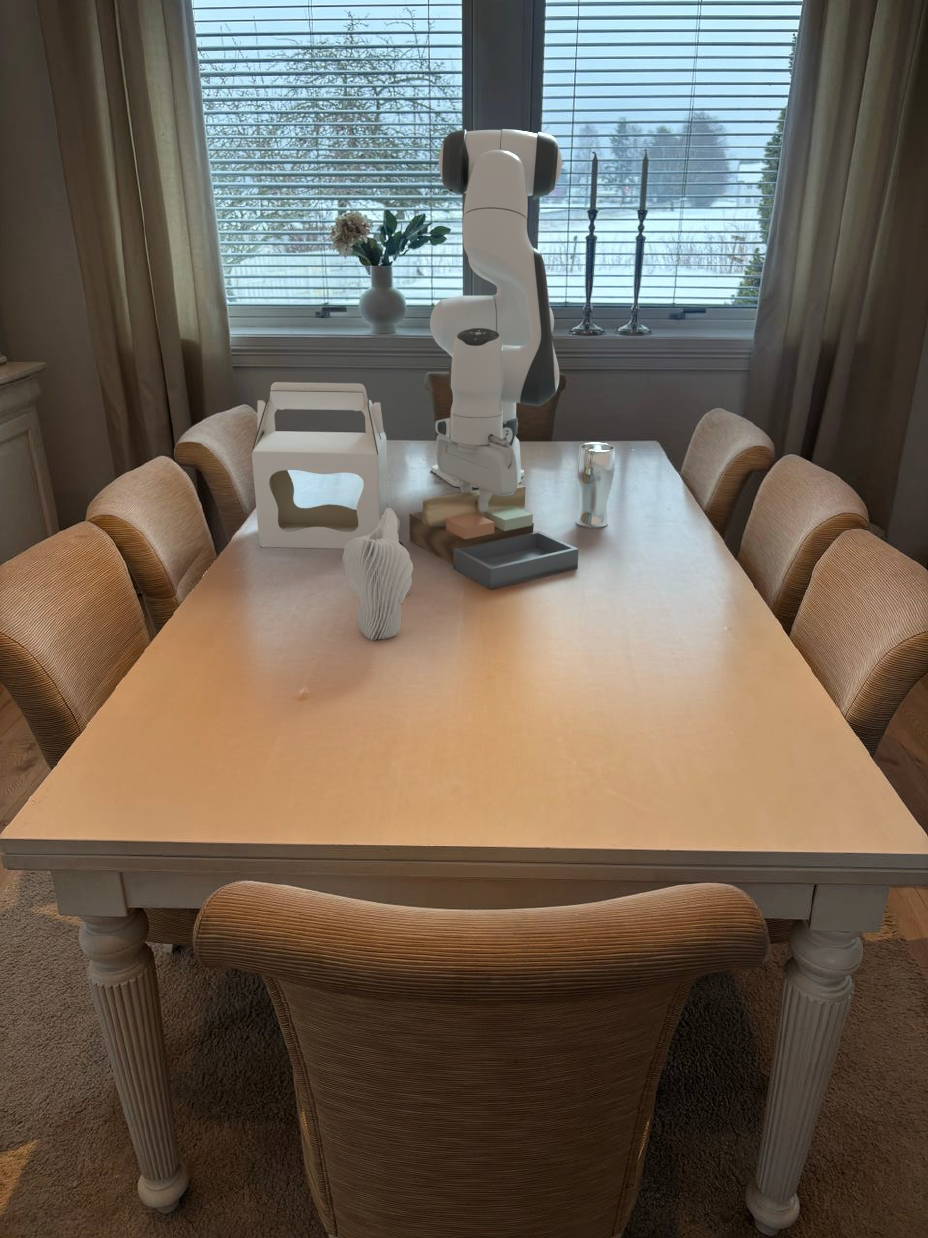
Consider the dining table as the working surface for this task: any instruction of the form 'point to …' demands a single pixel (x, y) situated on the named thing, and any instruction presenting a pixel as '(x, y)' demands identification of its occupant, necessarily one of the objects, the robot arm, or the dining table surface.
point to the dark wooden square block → (451, 537)
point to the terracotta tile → (469, 526)
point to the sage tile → (509, 518)
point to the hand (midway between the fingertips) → (475, 507)
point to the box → (515, 559)
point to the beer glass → (594, 483)
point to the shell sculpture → (379, 577)
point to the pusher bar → (467, 505)
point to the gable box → (317, 467)
